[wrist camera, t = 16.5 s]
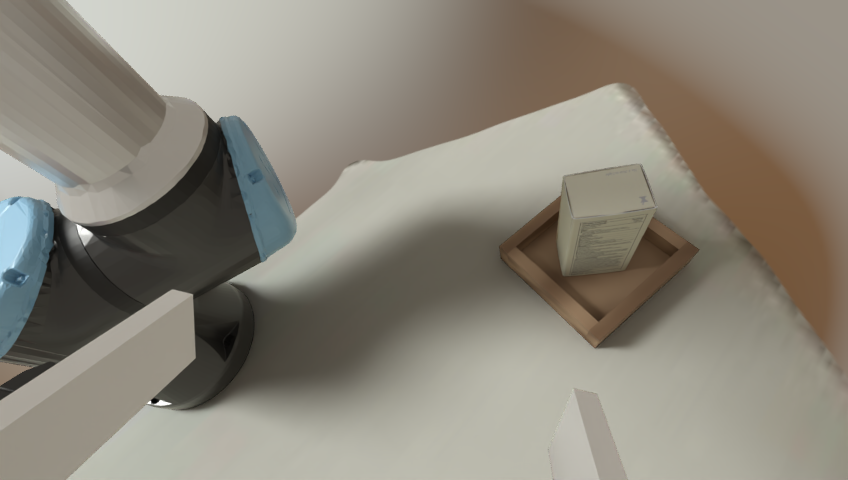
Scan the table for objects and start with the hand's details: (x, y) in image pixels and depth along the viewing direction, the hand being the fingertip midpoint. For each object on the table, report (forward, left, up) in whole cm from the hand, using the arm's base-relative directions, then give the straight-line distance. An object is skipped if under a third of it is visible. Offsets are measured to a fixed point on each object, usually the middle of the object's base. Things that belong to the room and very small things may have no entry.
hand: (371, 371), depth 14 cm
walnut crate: (-4, +20, -28) cm, 35 cm away
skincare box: (-4, +20, -27) cm, 34 cm away
